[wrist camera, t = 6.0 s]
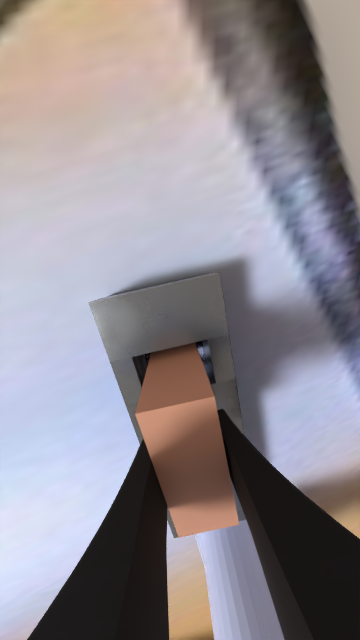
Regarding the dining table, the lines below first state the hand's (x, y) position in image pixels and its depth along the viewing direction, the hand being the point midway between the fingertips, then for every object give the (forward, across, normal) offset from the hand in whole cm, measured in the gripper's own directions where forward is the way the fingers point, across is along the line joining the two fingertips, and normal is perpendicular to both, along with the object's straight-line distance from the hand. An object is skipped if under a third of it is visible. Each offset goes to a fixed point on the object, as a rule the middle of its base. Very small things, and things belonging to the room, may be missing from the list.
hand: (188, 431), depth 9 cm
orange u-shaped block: (+3, 0, 0) cm, 3 cm away
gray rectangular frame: (+4, 0, +2) cm, 5 cm away
